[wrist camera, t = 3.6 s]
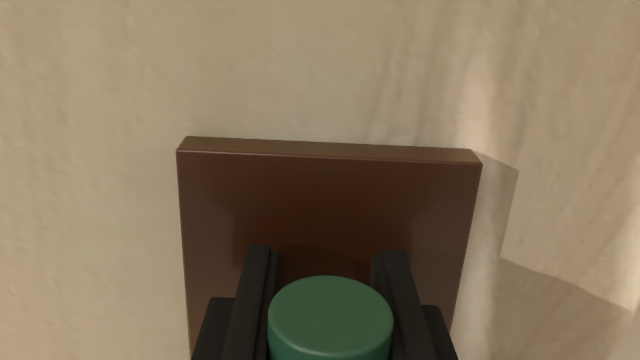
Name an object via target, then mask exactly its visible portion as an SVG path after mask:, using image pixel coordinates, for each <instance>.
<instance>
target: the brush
mask: <svg viewBox="0 0 640 360" xmlns="http://www.w3.org/2000/svg"><path fill="white" fill-rule="evenodd" d="M393 325H394V319H393V314H392V311H391V308H390V306H389V304H388V302H387V301H386V300H385V298H384V297H383V296H382V295H381V294H380V293H378V292H377V291H376V290H375V289H373V288H372V287H370V286H368V285H366V284H364V283H362V282H359V281H357V280H354V279H351V278H346V277H341V276H332V275H319V276H311V277H306V278H302V279H299V280H296V281H294V282H292V283H289V284H288V285H286V286H284V287H283V288H282V289H281V290H279V292H278V293H277V294H276V295H275V296H274V298H273V299H272V301H271V303H270V305H269V309H268V332H267V337H268V355H267V360H389V354H390V347H391V340H392V333H393Z"/></svg>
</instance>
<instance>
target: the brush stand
mask: <svg viewBox="0 0 640 360" xmlns="http://www.w3.org/2000/svg"><path fill="white" fill-rule="evenodd" d="M176 163H177V177H178V192H179V206H180V221H181V235H182V250H183V264H184V279H185V293H186V308H187V322H188V337H189V351H190V360H191V358H192V354H193V351H194V348H195V345H196V341H197V338H198V335H199V332H200V328H201V325H202V322H203V319H204V316H205V312H206V309H207V306H208V303H209V300H210V298H211V297H227V298H235V296H236V292H237V288H238V284H239V279H240V275H241V271H242V267H243V262H244V258H245V254H246V250H247V246H248V244H256V245H270V246H271V251H279V280H278V292H279V290H281V289H282V288H283V287H284V286H286V285H288V284H289V283H292V282H294V281H296V280H299V279H302V278H306V277H311V276H319V275H332V276H341V277H346V278H351V279H354V280H357V281H359V282H362V283H364V284H366V285H368V286H369V282H370V272H371V263H372V257H373V255H380V253H381V250H404V251H405V253H406V256H407V259H408V263H409V266H410V269H411V273H412V276H413V279H414V283H415V286H416V289H417V292H418V296H419V299H420V302H421V305H437V306H438V307H439V308H440V310H441V312H442V315H443V318H444V321H445V324H446V326H447V329H448V332H449V334H450V329H451V324H452V319H453V314H454V309H455V304H456V299H457V294H458V288H459V283H460V278H461V273H462V268H463V263H464V258H465V253H466V248H467V242H468V237H469V232H470V227H471V222H472V217H473V212H474V207H475V202H476V196H477V191H478V186H479V181H480V176H481V171H482V166H483V164H482V162H481V161H480V160H479V159H478V157H477V156H476V155H475V154H474V152H473V151H472V150H471V149H457V148H435V147H413V146H391V145H369V144H347V143H326V142H304V141H282V140H260V139H238V138H216V137H194V136H187V137H185V138H184V140H183V141H182V142H181V144H180V145H179V147H178V148H177V149H176Z"/></svg>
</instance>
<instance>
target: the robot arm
mask: <svg viewBox="0 0 640 360" xmlns="http://www.w3.org/2000/svg"><path fill="white" fill-rule="evenodd" d="M278 280H279V251H271V246H270V245H256V244H248V246H247V250H246V254H245V258H244V262H243V267H242V271H241V275H240V279H239V284H238V288H237V292H236V296H235V298H227V297H211V298H210V300H209V303H208V306H207V309H206V312H205V316H204V319H203V322H202V325H201V328H200V332H199V335H198V338H197V341H196V345H195V348H194V351H193V354H192V358H191V360H267V355H268V337H267V332H268V309H269V305H270V303H271V301H272V299H273V298H274V296H275V295H276V294H277V293H278ZM369 286H370V287H372V288H373V289H375V290H376V291H377V292H378V293H380V294H381V295H382V296H383V297H384V298H385V300H386V301H387V302H388V304H389V306H390V308H391V311H392V314H393V319H394V325H393V333H392V340H391V347H390V354H389V360H458V358H457V355H456V352H455V349H454V346H453V343H452V341H451V338H450V335H449V332H448V329H447V326H446V324H445V321H444V318H443V315H442V312H441V310H440V308H439V307H438V306H437V305H421V302H420V299H419V296H418V292H417V289H416V286H415V283H414V279H413V276H412V273H411V269H410V266H409V263H408V259H407V256H406V253H405V251H404V250H381V253H380V255H373V257H372V263H371V272H370V282H369Z"/></svg>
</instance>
